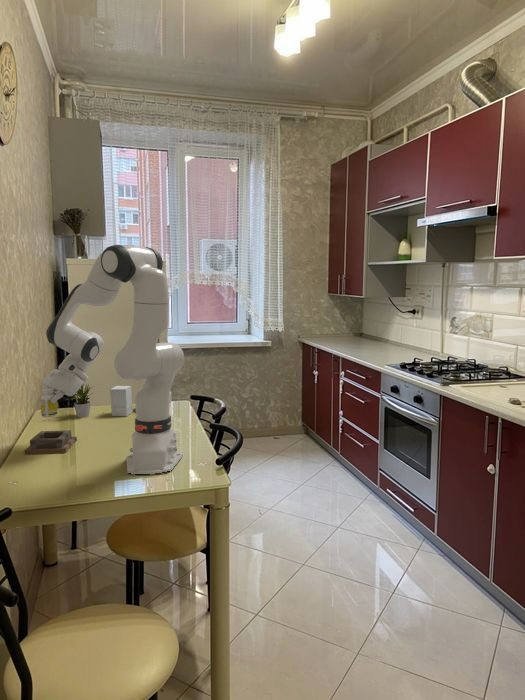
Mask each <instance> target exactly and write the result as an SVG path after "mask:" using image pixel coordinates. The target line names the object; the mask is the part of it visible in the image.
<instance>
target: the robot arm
mask: <svg viewBox="0 0 525 700" xmlns="http://www.w3.org/2000/svg"><path fill="white" fill-rule="evenodd" d="M163 262H164V261H163V257H162V255H161V254H160V252H158V251H157V250H156V249H154V248H152V247H147V246H145V247H143V246H140V245H134V244H122V245H121V244H113V245H110V246H107V247H106V248H105V249H104V250H103V251H102V252H101V253H100V254H99V255H98V257H97V258H96V260H95V261H94V263H93V265H92V267H91V269H90V271H89V273H88V274H89V275H88V277H87V279H86V280H85V282H84V283H79V284H77V285H76V286H74V287H73V289H72V290H71V291H70V293H69V294H68V296H67V297H66V299H65V301H64V302H63V304H62V306H61V307H60V310H59V311H58V313H56V316H55V318H53V320H52V322H51V323H50V324H49V326H48V327H47V328H46V330H45V331H46V332H45V336H46V339H47V341H48V343H49V344H51V345H54V346H56V347H58V348H60V349H61V350H64V351H66V353H69V354H68V355H66V357H65V358H64V359H63V361H62V362H61V363H60V364H59V365H58V366H57V369H56V368H55V369H52V370H51V371H50V372H49V373H48V374H47V375H46V376H45V377H44V379H42V381H41V383H40V385H41V386H42V387H43V389H46V388H53V389H54V393H56V394H55V395H54V396H53V397H51V399H50V400H49V401H50V402H51V403H55V402H56V401H57V402H58V400H60V399H61V398H63V397H64V396H67V397H73V395H74V394H75V393H76V392H77V391H78V390H79V389H81V386H82V385H83V383H84V384H85V383H86V382H87V381H88V380H89V376H88V375H87V373H86V372H87V371H88V368H89V367H90V365H91V364H93V363H94V362H95V360H96V359H97V358H98V356H99V354H100V353H101V352H102V350H103V348H104V345H105V341H104V339H103V338H102V336H101V335H99V333H97V332H94V331H89V332H88V331H86V330H83V329H82V328H80V327H78V326H77V325H75V324H74V323H73V322H72V319H73V316H74V315H75V313H76V311H77V309H78V308H79V306H80V305H87V306H91V307H104V306H107V305H110V304H112V303H113V302H114V301H115V300H116V299H117V297H118V295H119V293H120V290H121V287H122V284H123V283H124V284H125V283H127V282H130V283H131V284H132V286H133V289H134V290H133V291H134V294H133V295H134V296H133V323H132V329H131V332H130V335H129V337H128V339H127V341H126V342H125V344H124V345H123V347H122V348H121V349H120V350H119V351H118V352H117V353H116V355H115V357H114V363H113V364H114V369H115V372H116V374H117V375H118V376H119V377H120V378H121V379H122V380H125V381H126V380H130V381H139V380H145V382H144V384H143V386H142V387H141V388H140V389H139V390H138V391H137V393H136V395H135V397H134V398H135V399H134V401H135V403H134V404H135V419H134V432H132V433H131V443H132V445H131V446H132V447H131V448H130V449H129V452H130V453H129V454H127V455H126V457H125V458H126V473H127V474H128V473H131V474H130V475H135V474H150V475H156V474H155V473H161V474H163V473H162V472H167V471H170V470H172V469H173V468H174V469H175V467H176V466H177V465H178V463H179V462H180V461H181V460H182V458H183V457H182V456H184V455H183V452H180V451H178V442H177V441H178V439H177V433H176V432H175V430H173V429H172V422H173V421H172V417H171V415H170V414H171V413H170V404H169V396H170V392H171V389H172V385H173V382H174V380H175V377H176V375H177V373H178V372H179V370H181V369H182V367H183V365H184V364H185V363H184V362H185V354H184V351H183V349H182V347H181V346H180V345H178V344H176V343H173V342H158V340H159V339H160V337H161V335H162V334H163V333H164V332H165V331H166V330H167V329H168V327H169V319H170V318H169V313H170V307H169V306H170V304H169V303H170V299H169V298H170V293H169V283H168V280H167V275H166V273H165V272H164V271H163V270H162V269H163V265H164V263H163ZM83 386H84V385H83ZM76 394H77V393H76ZM179 460H180V461H179ZM178 461H179V462H178ZM176 464H177V465H176ZM175 465H176V466H175ZM174 466H175V467H174ZM172 471H173V470H172ZM170 472H171V471H170ZM167 473H168V472H167Z"/></svg>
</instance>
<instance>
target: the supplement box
mask: <svg viewBox="0 0 525 700" xmlns="http://www.w3.org/2000/svg"><path fill="white" fill-rule="evenodd" d="M109 391H110V393H109V394H110V406H111V417H128V416H130V415H131V414H133V398H132V395H133V394H132V385H115V386H113V387H112V388H110V390H109ZM129 414H130V415H129Z"/></svg>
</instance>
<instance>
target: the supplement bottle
mask: <svg viewBox="0 0 525 700" xmlns="http://www.w3.org/2000/svg"><path fill="white" fill-rule="evenodd" d="M41 393H42V395H41V396H40V411H41V417H42V418H52V417H53V418H54V417H56V416H58V415H59V414H58V400H57V401H56V402H55V403H51V402H50V401H49V400H50V399H51V397H53V396H54V395H56V394H55V392H54V389H53V388H46V389H45V388H43V389H42V390H41Z"/></svg>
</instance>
